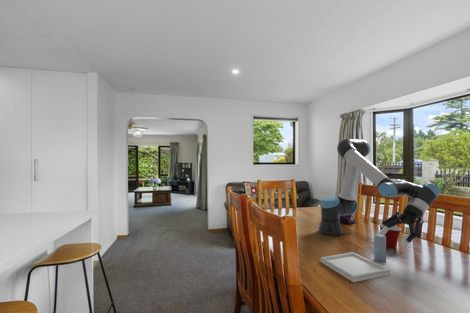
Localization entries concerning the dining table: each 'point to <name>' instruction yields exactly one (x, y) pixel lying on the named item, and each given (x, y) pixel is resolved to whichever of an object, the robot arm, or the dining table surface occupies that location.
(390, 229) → the plastic cup
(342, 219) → the decorative bottle
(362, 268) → the tray
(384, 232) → the robot arm
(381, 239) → the dowel pin
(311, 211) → the dining table surface
